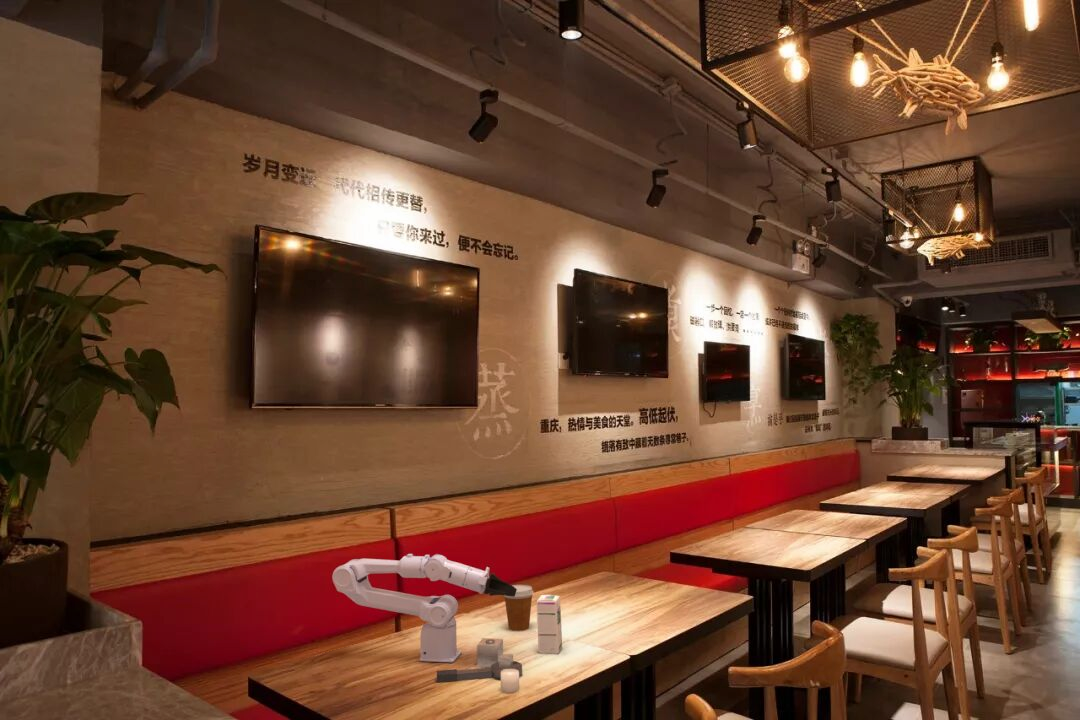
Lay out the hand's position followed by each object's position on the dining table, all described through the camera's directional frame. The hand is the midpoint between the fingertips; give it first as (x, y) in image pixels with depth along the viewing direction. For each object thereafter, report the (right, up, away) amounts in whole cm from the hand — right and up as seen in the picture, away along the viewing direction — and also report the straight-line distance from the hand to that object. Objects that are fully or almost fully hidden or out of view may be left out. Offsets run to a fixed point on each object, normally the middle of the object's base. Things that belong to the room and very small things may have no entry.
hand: (514, 591), depth 189 cm
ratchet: (-8, -17, -13) cm, 23 cm away
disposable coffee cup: (0, -20, +26) cm, 33 cm away
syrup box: (+10, -18, +5) cm, 21 cm away
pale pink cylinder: (0, -16, -21) cm, 27 cm away
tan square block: (-6, -18, -4) cm, 19 cm away
